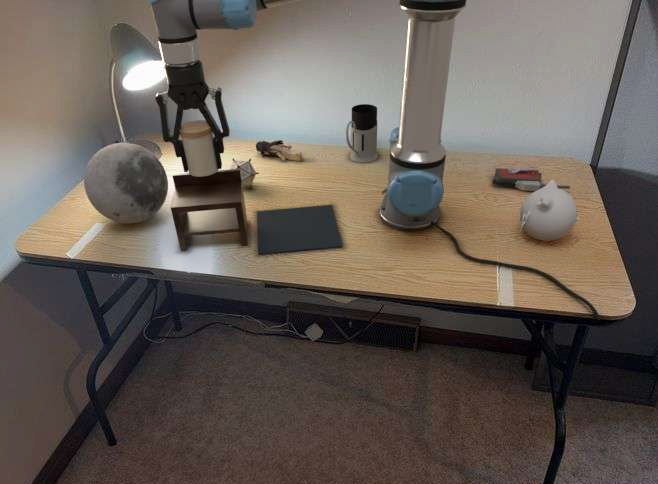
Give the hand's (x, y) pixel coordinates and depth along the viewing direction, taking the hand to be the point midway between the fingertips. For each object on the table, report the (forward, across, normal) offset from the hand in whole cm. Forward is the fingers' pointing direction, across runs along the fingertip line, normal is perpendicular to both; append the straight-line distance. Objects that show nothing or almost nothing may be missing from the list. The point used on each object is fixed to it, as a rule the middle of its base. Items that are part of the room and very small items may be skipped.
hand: (203, 167), depth 122 cm
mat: (+19, -20, -1) cm, 28 cm away
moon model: (+19, +22, -13) cm, 32 cm away
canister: (+1, 0, 0) cm, 1 cm away
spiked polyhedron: (+19, -7, -26) cm, 33 cm away
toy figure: (+19, -18, -44) cm, 52 cm away
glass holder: (+19, -42, -37) cm, 59 cm away
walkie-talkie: (+20, -85, -13) cm, 88 cm away
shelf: (+19, 0, -1) cm, 19 cm away
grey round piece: (+20, -78, +13) cm, 82 cm away
